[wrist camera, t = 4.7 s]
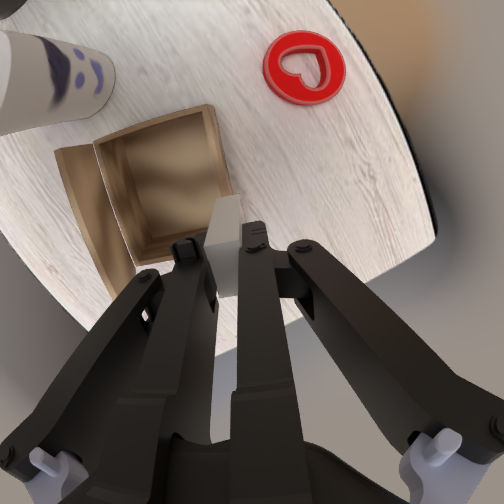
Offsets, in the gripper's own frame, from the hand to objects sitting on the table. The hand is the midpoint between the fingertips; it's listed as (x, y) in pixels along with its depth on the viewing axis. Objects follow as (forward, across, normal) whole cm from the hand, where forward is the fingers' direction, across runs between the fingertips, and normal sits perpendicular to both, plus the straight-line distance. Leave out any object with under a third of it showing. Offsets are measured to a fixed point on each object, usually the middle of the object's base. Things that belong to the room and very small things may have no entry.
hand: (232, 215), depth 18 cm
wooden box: (+18, -8, 0) cm, 20 cm away
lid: (+4, -12, 0) cm, 13 cm away
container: (+19, -18, +17) cm, 31 cm away
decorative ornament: (+19, +10, +11) cm, 24 cm away
